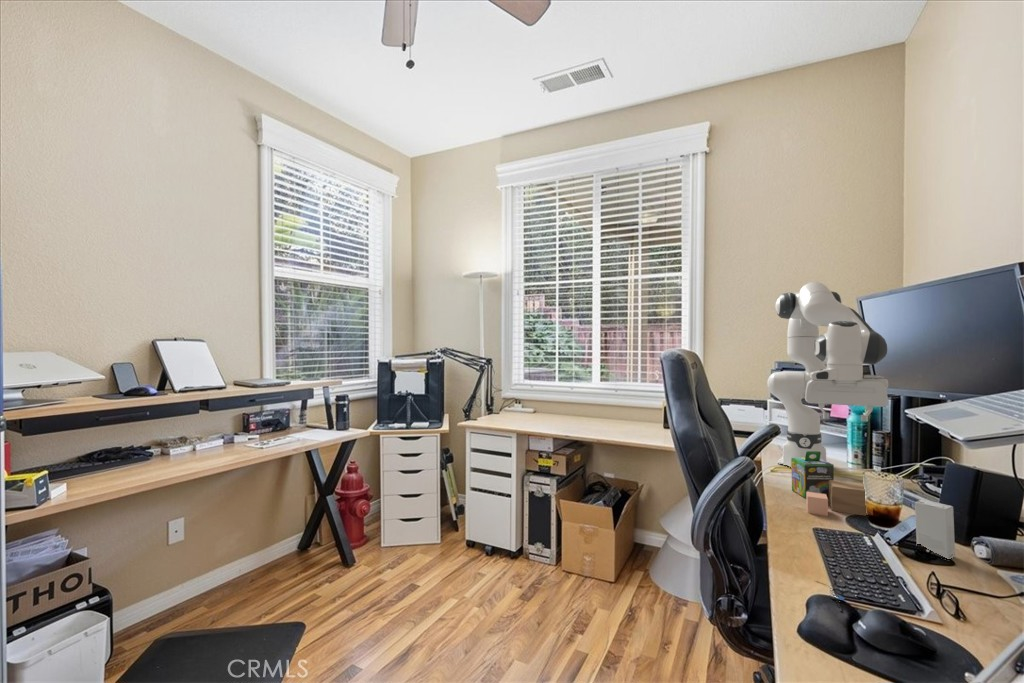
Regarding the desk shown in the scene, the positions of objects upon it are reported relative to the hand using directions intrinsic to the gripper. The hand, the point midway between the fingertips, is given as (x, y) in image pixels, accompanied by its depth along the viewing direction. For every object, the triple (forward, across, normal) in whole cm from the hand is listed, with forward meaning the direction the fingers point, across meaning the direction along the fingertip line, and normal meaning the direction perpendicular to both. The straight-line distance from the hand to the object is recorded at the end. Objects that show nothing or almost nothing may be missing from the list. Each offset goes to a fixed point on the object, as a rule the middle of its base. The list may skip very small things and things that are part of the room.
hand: (844, 419), depth 137 cm
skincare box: (+28, -14, +24) cm, 40 cm away
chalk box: (+27, +8, -12) cm, 31 cm away
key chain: (+29, +7, +56) cm, 63 cm away
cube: (+28, +8, +5) cm, 29 cm away
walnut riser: (+27, -1, -2) cm, 27 cm away
